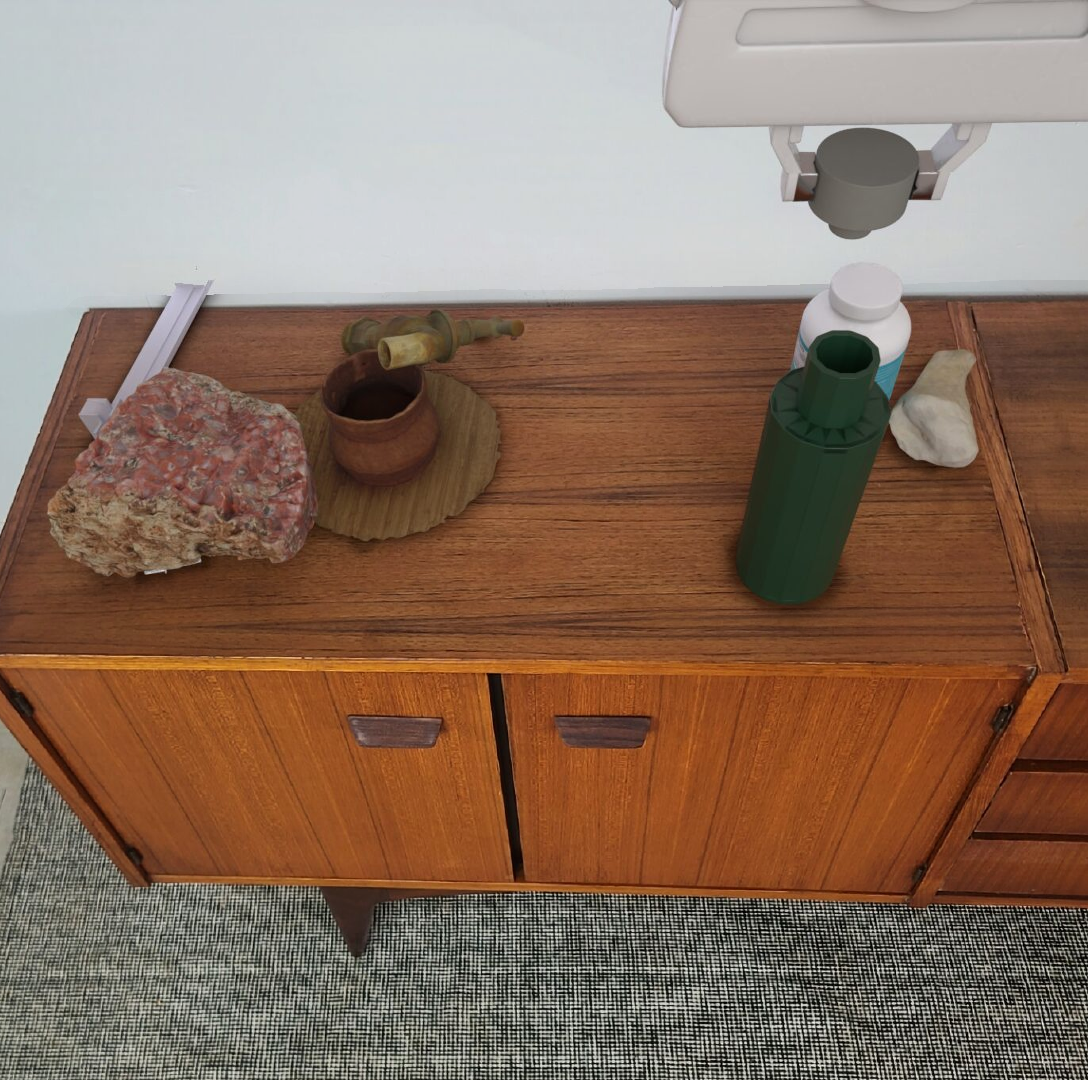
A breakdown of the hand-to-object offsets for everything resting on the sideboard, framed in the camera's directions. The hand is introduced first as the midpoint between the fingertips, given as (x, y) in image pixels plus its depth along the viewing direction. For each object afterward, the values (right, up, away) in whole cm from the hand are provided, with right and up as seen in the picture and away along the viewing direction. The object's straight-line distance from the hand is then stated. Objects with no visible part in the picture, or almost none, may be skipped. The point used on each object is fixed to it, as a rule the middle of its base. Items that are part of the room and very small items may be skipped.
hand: (859, 194), depth 53 cm
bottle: (+2, -18, +23) cm, 29 cm away
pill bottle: (+8, -7, +30) cm, 32 cm away
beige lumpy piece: (+16, -6, +30) cm, 34 cm away
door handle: (-49, +1, +37) cm, 61 cm away
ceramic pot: (-26, -9, +31) cm, 41 cm away
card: (-40, -16, +27) cm, 51 cm away
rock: (-37, -6, +28) cm, 47 cm away
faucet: (-30, -1, +28) cm, 41 cm away
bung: (0, -1, +2) cm, 2 cm away
